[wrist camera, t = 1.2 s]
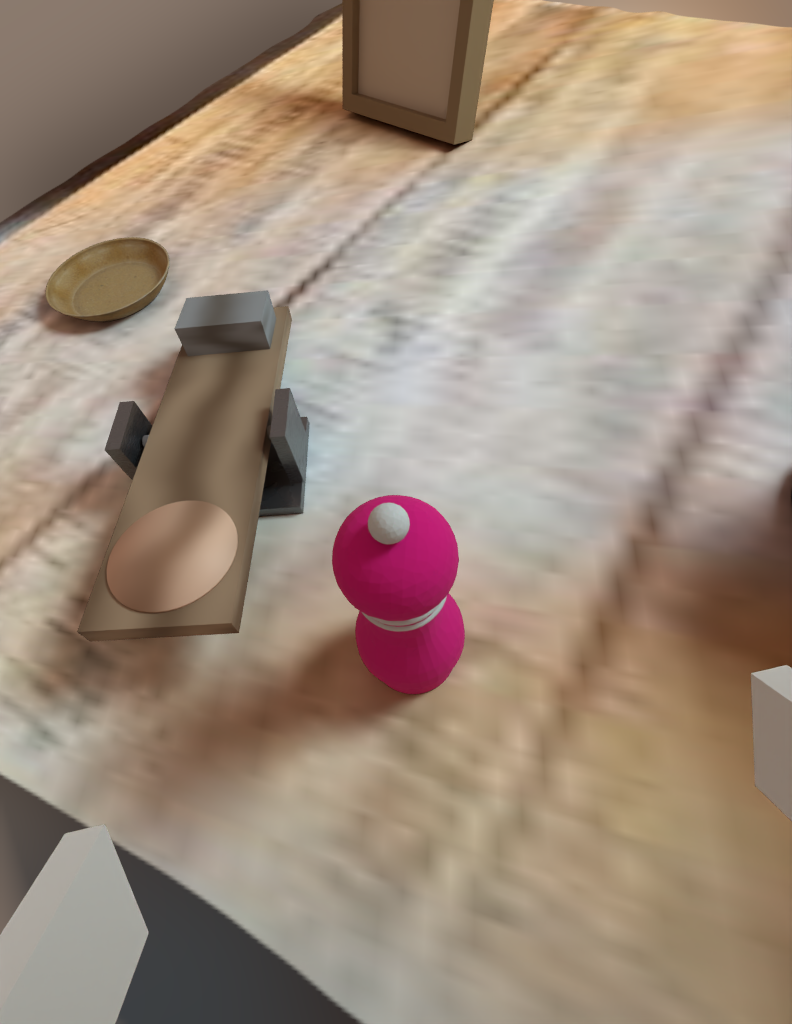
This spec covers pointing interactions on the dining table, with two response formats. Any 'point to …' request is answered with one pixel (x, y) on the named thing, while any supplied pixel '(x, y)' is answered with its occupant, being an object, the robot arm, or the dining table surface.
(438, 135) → the photo frame
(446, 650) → the pepper mill
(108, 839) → the robot arm
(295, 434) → the pivot stand
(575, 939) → the dining table surface
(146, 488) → the balance plank
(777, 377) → the dining table surface
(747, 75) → the dining table surface
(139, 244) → the plant saucer
